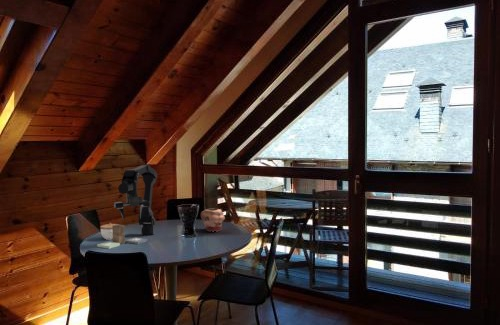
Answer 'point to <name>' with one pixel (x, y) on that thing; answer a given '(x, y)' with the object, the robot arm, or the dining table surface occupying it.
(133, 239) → the tile
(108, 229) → the lidded jar
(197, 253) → the dining table surface
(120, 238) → the walnut block
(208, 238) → the dining table surface
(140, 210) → the robot arm
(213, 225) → the decorative planter
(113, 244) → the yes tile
